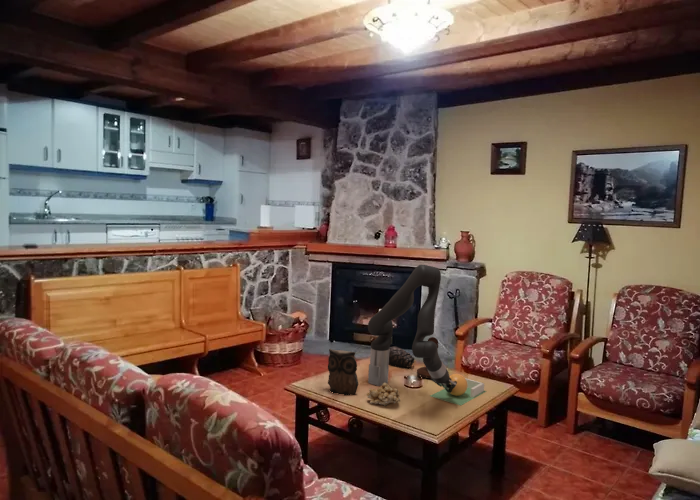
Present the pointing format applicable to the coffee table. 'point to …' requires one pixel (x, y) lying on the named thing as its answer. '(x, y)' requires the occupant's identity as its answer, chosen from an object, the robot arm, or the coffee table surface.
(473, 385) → the white side walls
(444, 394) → the felt strip
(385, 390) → the mineral formation
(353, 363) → the owl
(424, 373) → the dark wooden ornament
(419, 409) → the coffee table surface
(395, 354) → the pine cone
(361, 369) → the coffee table surface
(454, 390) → the ball
